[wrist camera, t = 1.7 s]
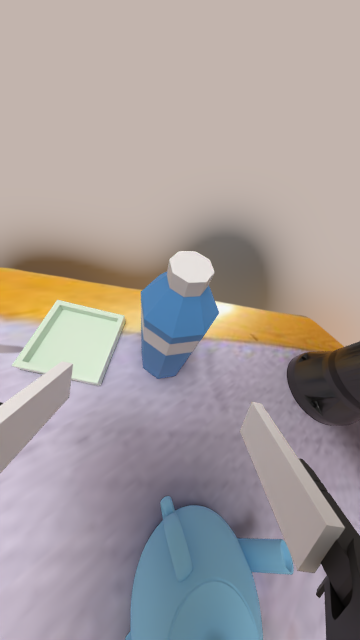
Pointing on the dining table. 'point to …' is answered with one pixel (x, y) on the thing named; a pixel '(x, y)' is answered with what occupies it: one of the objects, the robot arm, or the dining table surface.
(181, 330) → the water bottle
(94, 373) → the tray
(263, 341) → the dining table surface
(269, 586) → the dining table surface
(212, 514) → the teapot
